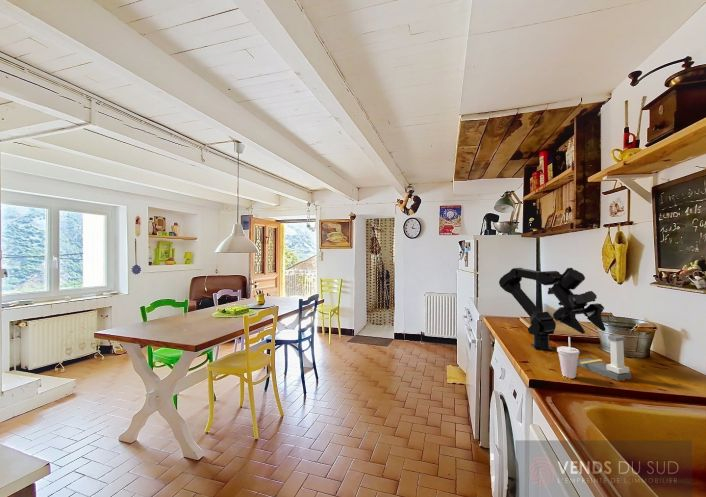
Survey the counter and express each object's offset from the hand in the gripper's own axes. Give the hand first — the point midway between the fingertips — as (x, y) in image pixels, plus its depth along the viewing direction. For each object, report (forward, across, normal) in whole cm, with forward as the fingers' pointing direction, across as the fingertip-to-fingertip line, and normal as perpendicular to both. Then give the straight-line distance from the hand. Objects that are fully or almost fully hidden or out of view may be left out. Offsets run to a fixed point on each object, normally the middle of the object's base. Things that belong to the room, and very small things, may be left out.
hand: (594, 331), depth 110 cm
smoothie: (+11, -14, +8) cm, 20 cm away
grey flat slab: (+11, 0, +8) cm, 14 cm away
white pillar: (+13, 0, +3) cm, 13 cm away
